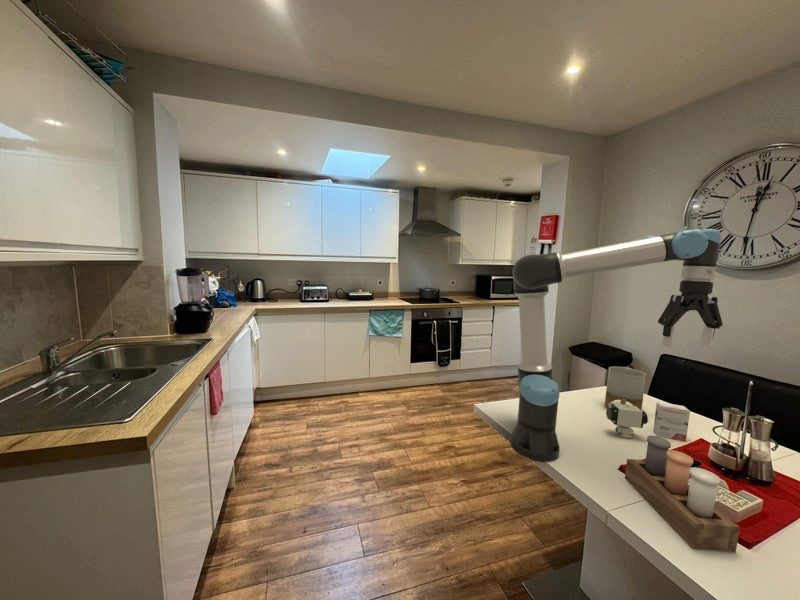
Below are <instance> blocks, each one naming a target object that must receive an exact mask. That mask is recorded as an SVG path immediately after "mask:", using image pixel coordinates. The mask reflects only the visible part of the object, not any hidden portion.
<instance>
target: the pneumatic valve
mask: <svg viewBox="0 0 800 600" xmlns="http://www.w3.org/2000/svg"><path fill="white" fill-rule="evenodd" d="M605 415H606V418H607V420H609V421H610V422H612V424H613V425H614V426H615V428H614V431H615V433H616V434H617V435H619V437H621V438H625V439H626V438H627V439H632V438H633V436H634V435H635V430H634V429H633V428H637V429H643V427H644V426H645V425H647V424H648V422H649V417H648V414H647V412H646V411H645V410H643V408H642V409H640V408H639V407H638V406H633V405H632V404H631V405H630V404H628V403H626V404H624V405H622V404H620V403H612V402H611V403H610V405H609V406H608V408H606V411H605Z"/></svg>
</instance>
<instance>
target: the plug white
mask: <svg viewBox="0 0 800 600" xmlns="http://www.w3.org/2000/svg"><path fill="white" fill-rule="evenodd" d="M689 473H690V475H689V476H690V477H689V484H688V485H689V492H688V498H687V505H686V508H687V509H688V510H690V511H691V512H692V513H693V514H694V515H695V516H696V517H698V518H709V519H712V518H713V511H714V506H715V504H716V497H717V491H718V486H719V485H720V484H721V478H720V477H719V476H718V475H717V474H716V473H713V472H711V471H709V470H707V469H704V468H700V467H695V466H694V467H692V466H691V468H690V472H689Z"/></svg>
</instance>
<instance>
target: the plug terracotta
mask: <svg viewBox="0 0 800 600" xmlns="http://www.w3.org/2000/svg"><path fill="white" fill-rule="evenodd" d="M666 456H667V457H668V458H667V465H666V472H665V480H664V488H666V489H667V490H668V491H669V492H670V493H671V494H672V495H681V496H687V489H688V485H689V483H690V476H691V475H690V473H689V472H690V468H692V466H693V465H694V458H692V457H691V456H690V455H688V454H686V453H684V452H682V451H678V450H673V449H669V450H668V451H667V453H666Z"/></svg>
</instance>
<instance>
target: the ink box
mask: <svg viewBox="0 0 800 600" xmlns="http://www.w3.org/2000/svg"><path fill="white" fill-rule="evenodd" d="M690 412H691V411H690V410H689V409H688V407H686V406H684V405H679V404H673V403H668V402H661V401H656V405H655V413H654V414H655V415H654V421H653V422H654V424H653V432H654V434H655V436H657V437H661V438H664V439H670V440H674V441H675V440H676V441H680V442H684V443H685V442H687V436H688V435H687V434H688V429H689V423H690V422H689V421H690Z"/></svg>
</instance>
